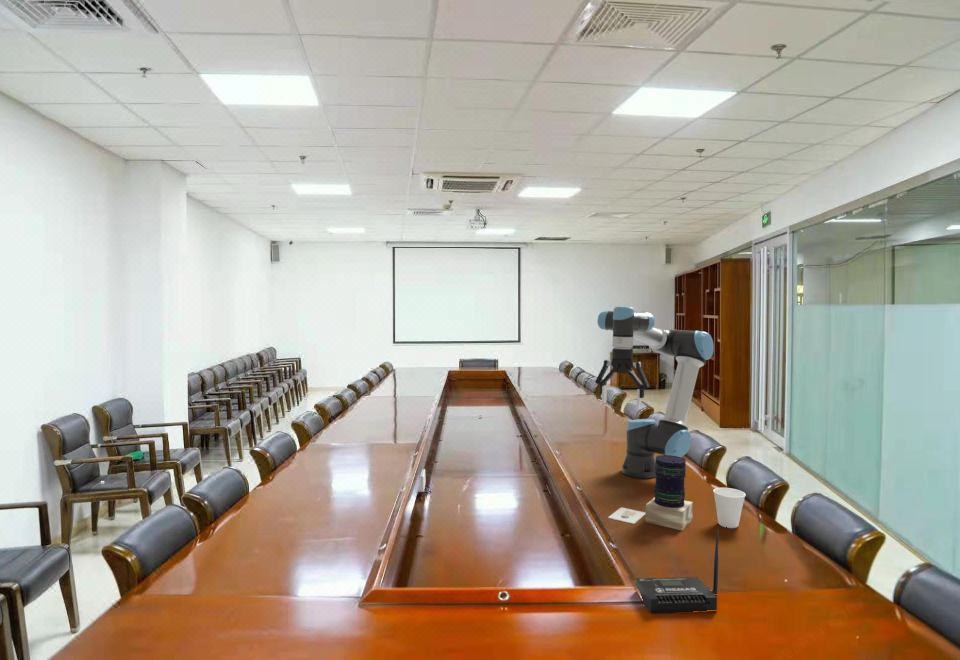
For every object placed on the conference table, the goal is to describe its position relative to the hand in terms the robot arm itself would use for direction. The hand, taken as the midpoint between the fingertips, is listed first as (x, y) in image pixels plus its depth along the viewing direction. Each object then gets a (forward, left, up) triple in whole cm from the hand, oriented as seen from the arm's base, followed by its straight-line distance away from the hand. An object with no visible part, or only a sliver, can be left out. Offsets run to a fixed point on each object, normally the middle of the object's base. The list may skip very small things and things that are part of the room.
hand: (621, 404), depth 220 cm
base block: (+14, +23, -35) cm, 44 cm away
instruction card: (+18, +10, -35) cm, 40 cm away
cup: (+6, +40, -35) cm, 53 cm away
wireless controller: (+66, +42, -35) cm, 86 cm away
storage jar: (+14, +23, -29) cm, 39 cm away
